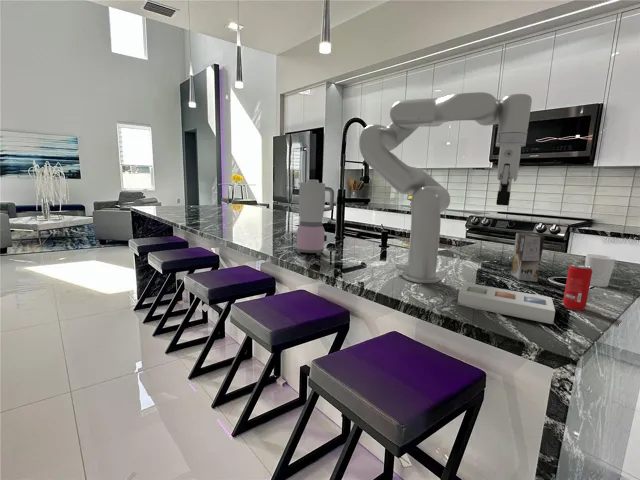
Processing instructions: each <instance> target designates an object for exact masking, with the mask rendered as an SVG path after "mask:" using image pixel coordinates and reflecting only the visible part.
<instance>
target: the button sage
mask: <svg viewBox="0 0 640 480" xmlns="http://www.w3.org/2000/svg"><path fill="white" fill-rule="evenodd" d="M469 291H471V292H476V293H481V294H485V290H484V289H482V288H478V287H470V288H469Z"/></svg>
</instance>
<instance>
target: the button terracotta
mask: <svg viewBox="0 0 640 480" xmlns="http://www.w3.org/2000/svg"><path fill="white" fill-rule="evenodd" d="M497 296H498V297H503V298H509V299H513V294H510V293H507V292H497Z"/></svg>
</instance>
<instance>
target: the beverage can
mask: <svg viewBox="0 0 640 480" xmlns="http://www.w3.org/2000/svg"><path fill="white" fill-rule="evenodd" d="M591 276H592V267H590V266H586V265H585V264H580V263H577V264H576V263H570V265H569V267H568V271H567V276H566V281H565V283H566V284H565V289H564V293H563V294H564V295H563V300H562V303H563V307H565V308H566V309H569V310H572V311H577V312H580V311H581V310H582V311H584V310H585V308H586V307H587V303H588V302H587V301H588V297H589V292H590V291H589V290H590V286H591V285H590V281H591ZM582 311H581V312H582Z"/></svg>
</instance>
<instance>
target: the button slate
mask: <svg viewBox="0 0 640 480" xmlns="http://www.w3.org/2000/svg"><path fill="white" fill-rule="evenodd" d="M526 302H531V303H536V304H542V305H544V300H542V299H539V298H535V297H527V298H526Z"/></svg>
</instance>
